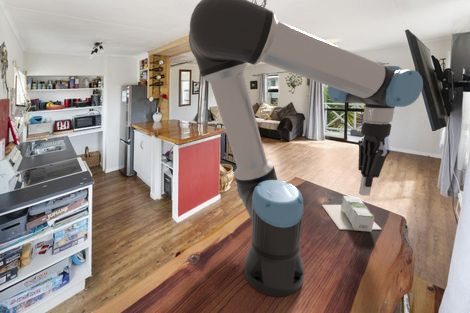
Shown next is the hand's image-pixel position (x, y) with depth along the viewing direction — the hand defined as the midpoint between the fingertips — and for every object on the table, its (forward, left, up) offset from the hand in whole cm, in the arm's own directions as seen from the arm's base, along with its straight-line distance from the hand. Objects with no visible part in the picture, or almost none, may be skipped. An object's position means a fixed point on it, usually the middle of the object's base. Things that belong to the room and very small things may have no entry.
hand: (364, 194), depth 76 cm
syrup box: (0, -3, -9) cm, 10 cm away
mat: (0, +7, -12) cm, 14 cm away
